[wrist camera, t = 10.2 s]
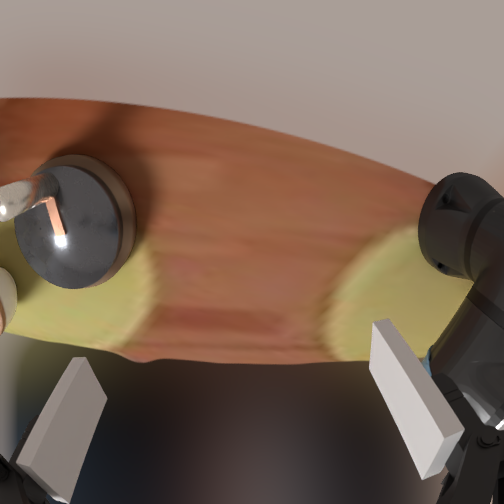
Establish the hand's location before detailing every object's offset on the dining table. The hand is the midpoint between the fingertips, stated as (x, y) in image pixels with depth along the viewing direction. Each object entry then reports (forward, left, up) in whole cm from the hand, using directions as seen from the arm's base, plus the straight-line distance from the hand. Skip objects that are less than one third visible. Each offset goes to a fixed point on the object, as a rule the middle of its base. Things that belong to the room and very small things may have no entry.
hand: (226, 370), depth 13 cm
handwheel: (+3, +19, -24) cm, 31 cm away
